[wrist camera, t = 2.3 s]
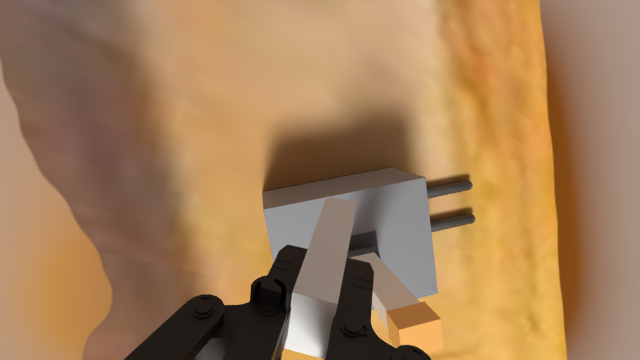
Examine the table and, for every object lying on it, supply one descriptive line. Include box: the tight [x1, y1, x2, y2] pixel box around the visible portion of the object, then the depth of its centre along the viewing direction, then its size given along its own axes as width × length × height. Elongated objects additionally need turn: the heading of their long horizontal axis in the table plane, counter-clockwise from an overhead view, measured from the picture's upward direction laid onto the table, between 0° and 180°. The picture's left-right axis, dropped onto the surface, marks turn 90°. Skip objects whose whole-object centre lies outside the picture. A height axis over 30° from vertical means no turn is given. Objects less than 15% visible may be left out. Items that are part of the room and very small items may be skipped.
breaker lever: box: [347, 245, 444, 353], centre depth 31 cm, size 4×2×15 cm, turn 99°
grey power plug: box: [262, 167, 475, 310], centre depth 45 cm, size 29×14×10 cm, turn 99°
